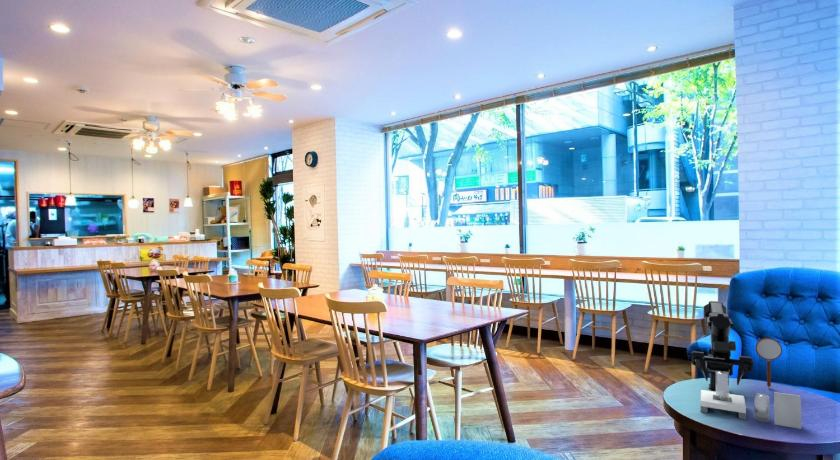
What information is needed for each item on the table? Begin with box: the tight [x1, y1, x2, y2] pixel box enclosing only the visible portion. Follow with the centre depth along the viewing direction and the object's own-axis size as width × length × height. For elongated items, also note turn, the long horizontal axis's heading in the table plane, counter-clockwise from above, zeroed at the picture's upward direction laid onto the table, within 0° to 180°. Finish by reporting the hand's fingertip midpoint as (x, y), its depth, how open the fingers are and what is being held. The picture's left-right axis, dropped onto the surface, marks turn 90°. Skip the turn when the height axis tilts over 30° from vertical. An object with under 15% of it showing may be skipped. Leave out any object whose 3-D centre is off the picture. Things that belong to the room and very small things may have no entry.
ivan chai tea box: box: [773, 391, 803, 430], centre depth 153 cm, size 4×7×10 cm, turn 57°
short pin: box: [753, 392, 770, 423], centre depth 157 cm, size 4×4×8 cm
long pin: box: [715, 371, 730, 412], centre depth 167 cm, size 4×4×13 cm
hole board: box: [700, 389, 747, 420], centre depth 167 cm, size 13×13×4 cm
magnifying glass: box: [754, 337, 783, 389], centre depth 187 cm, size 9×2×20 cm, turn 64°
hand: (722, 382), depth 167 cm, fingers open, 9 cm apart
